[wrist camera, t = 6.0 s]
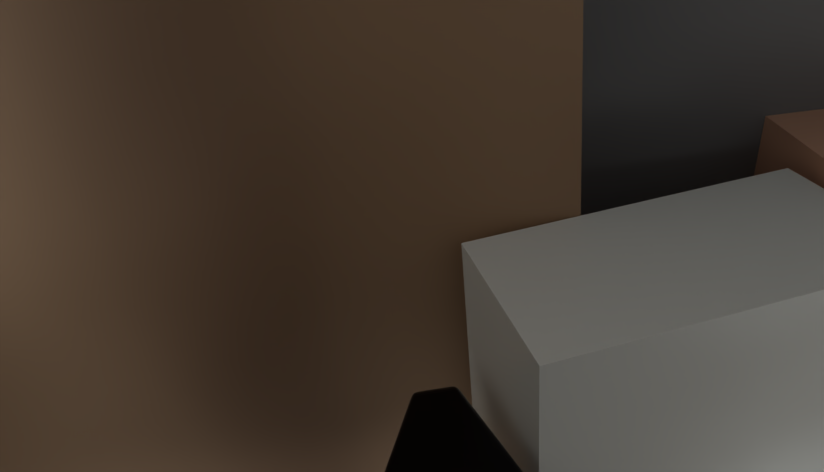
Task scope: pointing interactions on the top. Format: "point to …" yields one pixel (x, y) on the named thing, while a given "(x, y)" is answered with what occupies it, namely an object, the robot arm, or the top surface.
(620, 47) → the tray
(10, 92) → the flat brown platform
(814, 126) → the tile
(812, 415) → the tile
